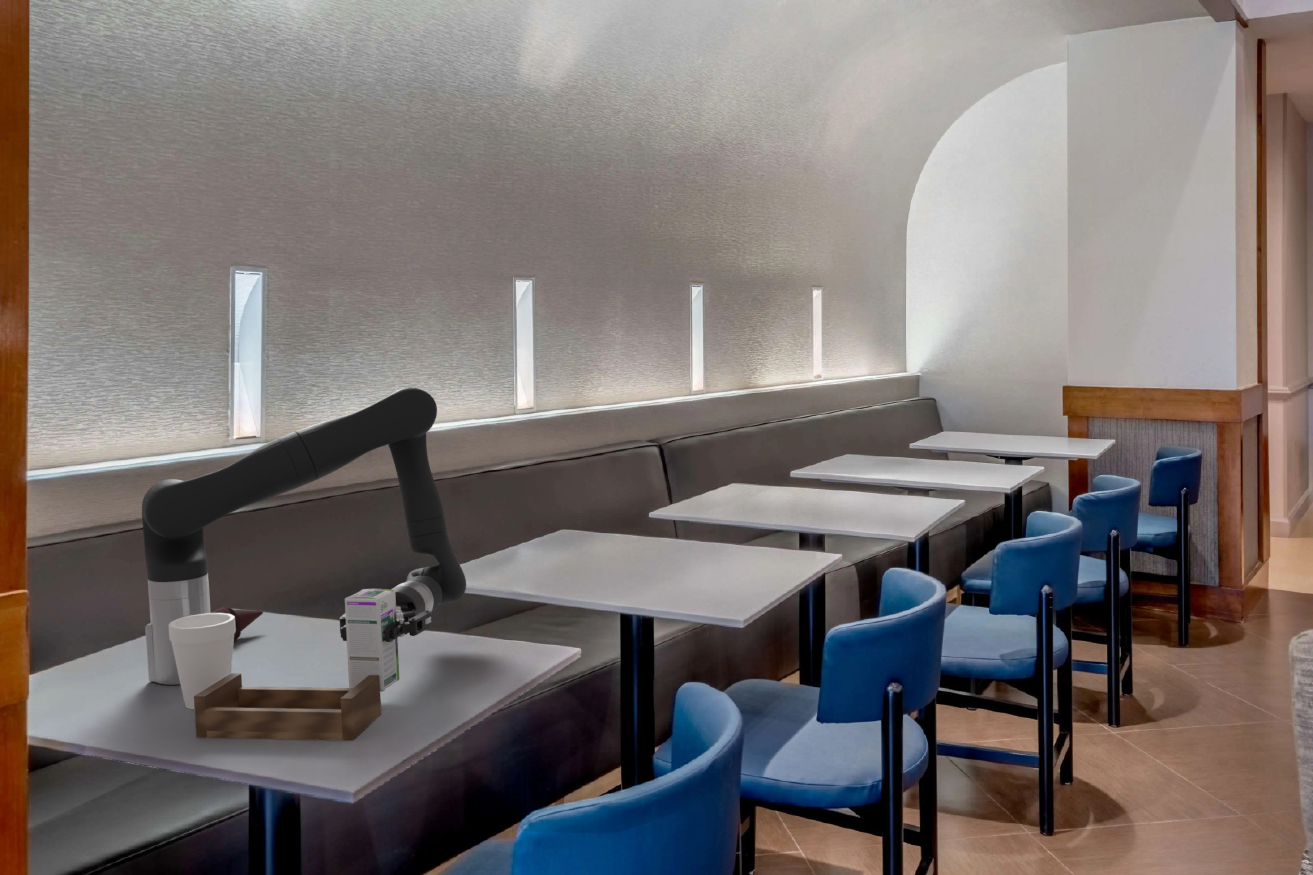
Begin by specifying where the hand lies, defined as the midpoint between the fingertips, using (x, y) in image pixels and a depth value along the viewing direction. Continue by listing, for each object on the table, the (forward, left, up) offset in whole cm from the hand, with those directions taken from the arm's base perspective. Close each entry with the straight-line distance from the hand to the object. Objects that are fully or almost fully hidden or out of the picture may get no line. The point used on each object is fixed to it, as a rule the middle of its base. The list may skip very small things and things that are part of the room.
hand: (366, 634), depth 161 cm
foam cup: (-27, +1, -12) cm, 29 cm away
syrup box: (0, +2, -9) cm, 9 cm away
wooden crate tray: (-9, -8, -11) cm, 16 cm away
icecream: (-42, +35, -12) cm, 56 cm away
